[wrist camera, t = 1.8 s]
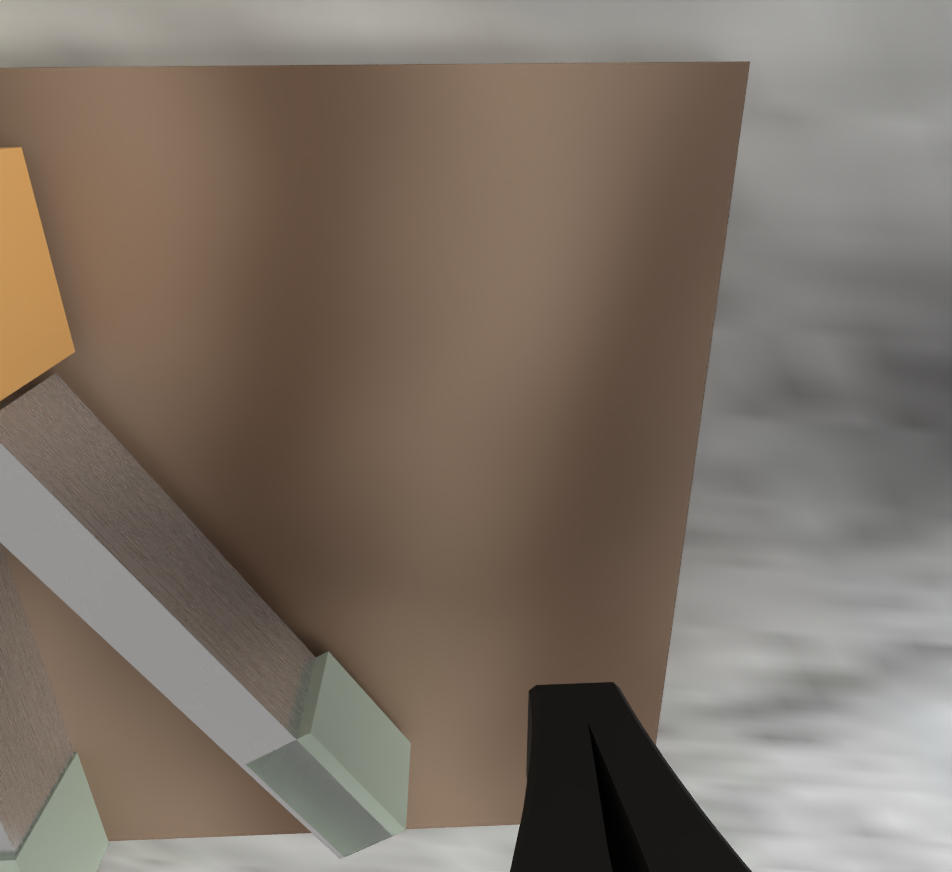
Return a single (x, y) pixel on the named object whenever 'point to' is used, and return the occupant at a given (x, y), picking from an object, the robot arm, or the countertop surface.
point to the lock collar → (26, 284)
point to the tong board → (372, 403)
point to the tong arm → (194, 622)
